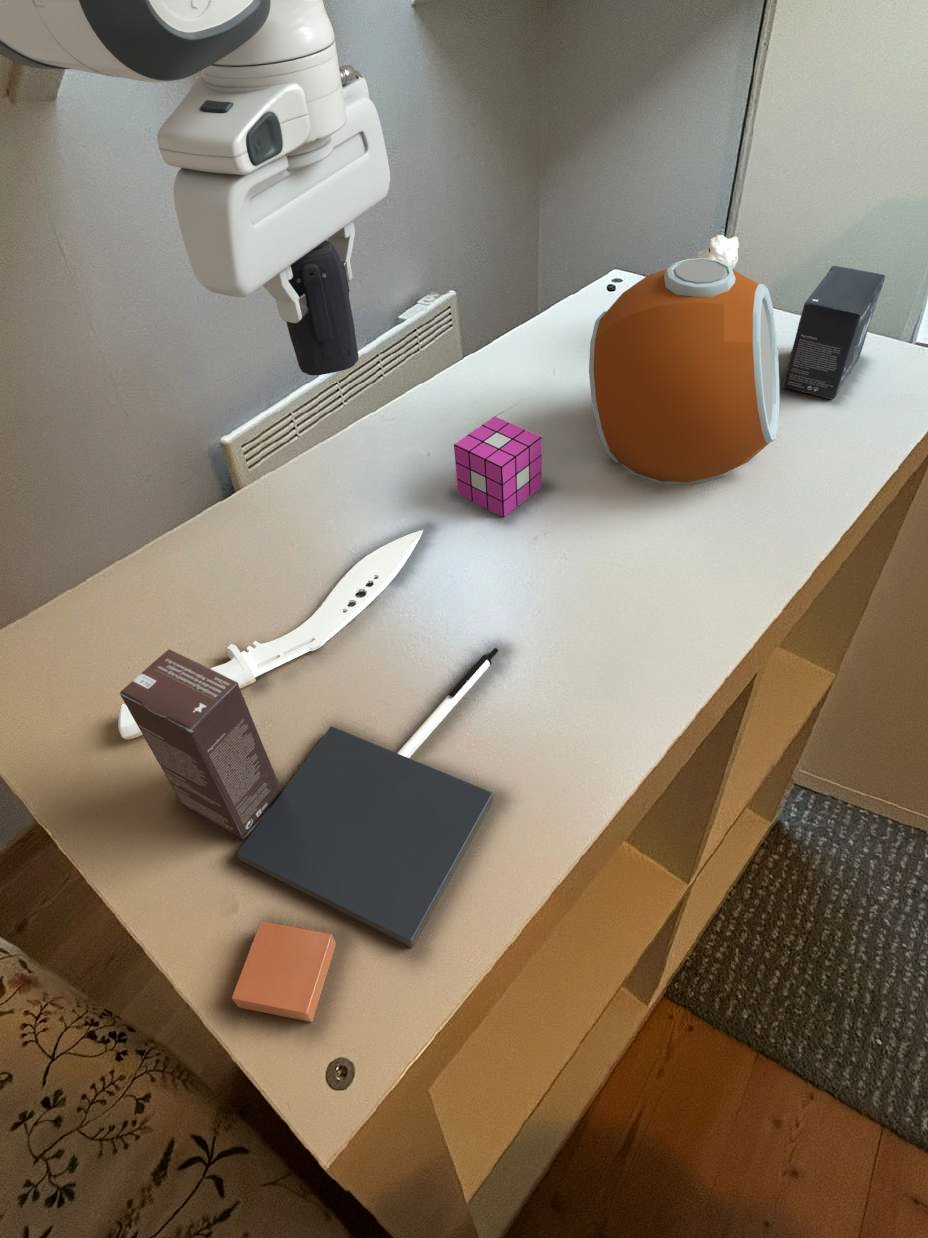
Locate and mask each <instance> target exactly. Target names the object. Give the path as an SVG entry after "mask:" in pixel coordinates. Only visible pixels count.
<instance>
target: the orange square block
mask: <svg viewBox="0 0 928 1238" xmlns="http://www.w3.org/2000/svg"><path fill="white" fill-rule="evenodd" d="M336 946H337V943H336V941H335V938H334V936H333V934H332V933H328V932H323V931H317V930H312V929H306V928H300V927H295V926H290V925H286V924H285V925H284V924H279V923H275V922H274V923H273V922H268V921H262V920H261V921H259V924H258V926H257V929H256V932H255V935H254V938H253V941H252V943H251V946H250V948H249V951H248V954H247V956H246V959H245V961H244V964H243V966H242V970H241V971H240V975H239V977H238V980H237V983H236V986H235V987H234V988H235V989H234V991H233V994H232V996H231V999H232V1001H233V1002H234V1004H235V1005H236V1006H237V1007H238V1008H239V1009H245V1010H250V1011H254V1012H260V1013H265V1014H269V1015H273V1016H279V1017H284V1018H288V1019H292V1020H293V1019H294V1020H298V1021H299V1020H300V1021H303V1022H308V1023H312V1022H313V1021H314V1018H315V1015H316V1011H317V1009H318V1005H319V1001H320V998H321V995H322V993H323V989H324V985H325V982H326V979H327V976H328V972H329V969H330V965H331V962H332V959H333V957H334V952H335V949H336Z"/></svg>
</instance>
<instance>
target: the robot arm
mask: <svg viewBox="0 0 928 1238" xmlns="http://www.w3.org/2000/svg"><path fill="white" fill-rule="evenodd" d="M337 49H338V48H337V43H336V38H335V32H334V29H333V26H332V22H331V20H330V18H329V16H328V13H327V10H326V8H325V4H324V0H0V56H2V57H4V58H6V59H7V60H10V61H11V62H14V63H16V64H19V65H22V66H25V67H28V68H34V69H40V70H42V69H43V70H75V71H80V72H86V73H90V74H96V75H102V76H105V77H113V78H122V79H126V80H132V81H137V82H146V83H152V84H153V83H169V82H173V81H179V80H184V79H186V78H189V77H191V76H194V75H196V74H198V73H199V72H200V76H198V77H197V78H196V79H195V80H194V82H193V84H192V85H191V87H190V88H189V90H188V91H187V93H186V95H185V96H184V98H183V99H182V100H181V101H180V103H179V104H178V106H176V108H175V109H174V110H173V111H172V113H171V114H170V115H169V117H168V118H166V120H165V121H164V122H163V124H161V126H160V128H159V130H158V131H157V135H156V140H157V145H158V150H159V152H160V155H161V158H162V159H163V161H164V163H165V164H166V165H168V166H172V167H175V168H179V170H178V171H177V173H176V175H175V178H174V182H173V189H172V191H173V204H174V208H175V213H176V217H177V221H178V225H179V229H180V233H181V236H182V240H183V244H184V248H185V251H186V254H187V257H188V261H189V263H190V267H191V269H192V272H193V275H194V277H195V278H196V280H197V281H198V282H199V284H201V285H202V286H203V287H204V288H205V289H207V290H208V291H209V292H211V293H214V294H219V295H223V296H229V297H234V298H247V297H248V296H250V295H251V294H253V293H254V292H256V291H257V290H258V289H260V288H261V287H263V288H264V289H265V290H266V291H267V292H268V294H270V295H271V297H272V298H273V299H274V300H275V303H276V306H277V311H278V315H279V317H280V319H281V321H284V322H285V323H286V322H291V323H298V322H299V321H300V320H302V319H303V318H304V317H305V316H306V315H308V313H309V307H308V306H307V298H306V293H301V292H295V290H294V289H293V287H292V286H291V284H290V283H289V281H288V280H290V279H292V277H293V274H292V269H291V265H292V264H293V263H294V262H296V261H297V260H299V259H300V258H301V257H303V256H304V255H306V254H307V253H308V252H310V251H311V250H313V249H314V248H315V247H317V246H318V245H320V244H321V243H322V242H324V241H325V240H327V241H329V242H331V243H332V244H333V245H334V247H335V249H336V251H337V253H338V254H339V257H340V259H341V261H342V262H343V264H344V267H345V271H346V275H347V280H348V283H350V282H351V281H352V280H353V271H352V264H351V258H352V253H353V249H354V248H353V247H354V241H355V237H356V236H355V235H356V228H355V222H354V221H355V220H357V218H359V217H360V216H362V215H363V214H364V213H366V212H367V211H369V210H371V208H373V207H374V206H376V205H377V204H378V203H380V202H381V201H383V200H384V199H385V198H386V197H387V196H388V194H389V189H390V184H391V169H390V164H389V159H388V152H387V148H386V142H385V137H384V134H383V133H384V132H383V128H382V124H381V120H380V115H379V113H378V110H377V108H376V106H375V104H374V102H373V101H372V100H371V99H370V93H369V87H368V83H367V80H366V79H365V78H366V77H363V75H362V74H361V73H360V72H359V70H357V69H355V68H354V66H353V65H351V64H345V65H341V66H340V63H339V57H338V52H337V51H338V50H337Z"/></svg>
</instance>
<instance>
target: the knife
mask: <svg viewBox="0 0 928 1238" xmlns="http://www.w3.org/2000/svg"><path fill="white" fill-rule="evenodd" d="M423 532H424V529H421V530H417V531H415V532H411V533H409V534H406V535H403V536H401V537H399V538H397V539H395V540H393V541H389V543H387V544H385V545H383V546H380V547H379V548H377V549H375V550H374V551H372V552H370V553H368V554H367V555H366V556H365V555H364V557H362V558H361V559H360V560H359V561H357V562H356V563H355V564H354V565H353V566H352V567H351V568H349V570H348V571H347V572H346V573H345V574H344V575H343V576H342V577H341V579H340V580H339V581H338V582H337V583H336V585H335V586H334V587H333V588H332V590H331V591H330V592H329V594H328V595H327V596H326V598H325V599H324V601H322V603H321V605H320V606H319V607H318V608H317V609H316V611H315V612H314V613H313V614H312V615H311V616H310V617H309V618H308V619H306V620H305V621H304V622H302V623H301V625H299V626H298V627H296V628H295V629H293V630H292V631H290V632H288V633H286V634H284V635H282V636H280V637H277V638H275V639H273V640H270V641H267V642H263V643H261V642H258V641H257V640H254V641H253V642H252V646H253V647H252V646H251V645H248V646H247V647H246V650H243V651H241V650H240V649H239V647H237V646H236V645H235V644H233V643H230V644H229V645H228V646H227V647H226V654H227V656H228V658H229V659H230V660H229V661H227V662H226V663H222V664H219V665H217V666H213V667H209V669H211V670H214V671H216V672H218V673H220V674H222V675H224V676H226V677H227V678H229V679H232V680H234V681H236V682H238V685H239V688H240V690H241V689H243V688H245V687H247V686H250V685H252V684H254V683H256V682H257V680H256V678H257V677H259V676H261V675H263V674H265V673H267V672H269V671H271V670H273V669H275V668H277V667H280V666H283V664H286V663H288V662H290V661H292V660H294V659H296V658H298V657H300V656H302V655H304V654H307V653H309V652H313V651H316V650H318V649H320V648H322V647H323V645H324V644H326V643H327V642H328V641H329V640H330V639H332V638H333V637H334V636H335V635H336V634H337V633H338V632H339V631H341V630H342V629H343V628H344V627H345V626H347V625H348V624H349V623H350V622H352V621H353V620H354V618H356V617H357V616H358V615H359V614H360V613H361V612H363V610H364V609H365V608H367V607H368V606H369V605H370V604H371V603H372V602H373V601H374V600H375V599H376V598H377V597H378V596H379V595H380V594H381V593H382V592H383V591H384V590H385V589H386V588H387V587H388V586H389V585H390V583H391V582H393V580H394V578H395V577H397V575H398V574H399V572H400V571H401V570H402V568H403V567H404V565H405V564H406V562H407V561H408V560H409V558H410V556H411V554H412V553H413V551H414V550H415V548H416V546H417V544H418V543H419V541H420V539H421V537H422V535H423ZM368 584H373V585H371V586H367V585H368ZM360 592H364V593H365V595H364V596H362V597H357V596H356V594H357V593H360ZM350 603H355V605H354V606H348V605H349V604H350ZM117 720H118V723H117V724H118V725H117V726H118V727H117V728H118V732H119V733H120V737H121V738H122V739H124V740H131V739H135V738H138V737H142V736H143V734H142V732H141V731H140V729H139V727H138V725H137V724H136V722H135V720H134V718H133V717H132V715H131V713H130V711H129V709H128V708H127V706H126V704H125V703H121V705H120V710H119V714H118V719H117Z"/></svg>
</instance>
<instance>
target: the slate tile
mask: <svg viewBox="0 0 928 1238" xmlns="http://www.w3.org/2000/svg"><path fill="white" fill-rule="evenodd" d="M493 803H494V793H493V792H492V791H490V790H487V789H484V788H482V787H479V786H477V785H475V784H472V783H470V782H468V781H465V780H462V779H461V778H457V777H455V776H453V775H450V774H448V773H446V772H443V771H441V770H438V769H436V768H433V767H431V766H429V765H426V764H424V763H421V762H419V761H416V760H414V759H412V758H407V757H405V756H402V755H400V754H397V752H395V751H392V750H391V749H388V748H385V747H383V746H380V745H378V744H376V743H373V742H371V741H368V740H366V739H363V738H362V737H358V736H356V735H354V734H352V733H349V732H347V731H344V730H342V729H339V728H337V727H334V726H332V725H331V726H330V727H329V728H328V729H327V731H326V732H325V733H324V735H323V736H322V737H321V739H320V740H319V741H318V743H317V744H316V745H315V747H314V748H313V749H312V751H311V752H310V754H308V756H307V758H306V759H305V760H304V761H303V763H302V764H301V765H300V767H299V768H298V770H297V771H296V773H294V775H293V777H292V778H291V779H290V781H289V782H288V783H287V785H286V786H285V787H284V789H283V790H282V793H281V794H280V795H279V797H278V798H277V799H276V801H275V802H274V803H273V805H272V806H271V808H270V809H269V810H268V812H267V813H266V814H265V816H264V817H263V818H262V820H261V821H260V822H259V823H258V824H257V826H256V827H255V828H254V829H253V831H252V832H251V833H250V834H249V835H248V836H247V838H246V839H245V841H244V842H243V844H242V845H241V846H240V848H239V849H238V851H236V856H237V857H238V859H239V861H240V862H242V863H244V864H246V865H248V866H249V867H252V868H253V869H255V870H258V871H260V872H261V873H263V874H266V875H268V876H269V877H272V878H274V879H276V880H277V881H279V882H282V883H283V884H285V885H287V886H289V887H291V888H294V889H295V890H297V891H299V892H301V893H303V894H305V895H307V896H309V897H311V898H313V899H315V900H317V901H318V902H321V903H323V904H324V905H326V906H328V907H331V908H332V909H334V910H336V911H338V912H341V913H342V914H344V915H346V916H348V917H351V918H352V919H354V920H356V921H358V922H360V923H361V924H364V925H366V926H368V927H370V928H372V929H374V930H376V931H378V932H379V933H382V934H384V935H386V936H387V937H390V938H392V939H394V940H395V941H397V942H399V943H401V944H404V945H406V946H407V947H409V948H411V949H413V948H414V947H415V945H416V943H417V941H418V939H419V938H420V936H421V934H422V932H423V930H424V928H425V927H426V926H427V924H428V921H429V919H430V917H431V916H432V914H433V912H434V910H435V908H436V907H437V905H438V903H439V901H440V900H441V897H442V896H443V893H444V892H445V891H446V888H447V886H449V885H448V884H449V883H450V881H451V879H452V877H453V876H454V874H455V872H456V870H457V868H458V866H459V864H460V863H461V861H462V859H463V857H464V856H465V853H466V852H467V850H468V848H469V847H470V844H471V843H472V842H473V839H474V837H475V836H476V833H477V832H478V830H479V829H480V826H481V824H482V823H483V822H484V819H485V818H486V815H487V814H488V812H489V810H490V808H491V807H492V805H493Z"/></svg>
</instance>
